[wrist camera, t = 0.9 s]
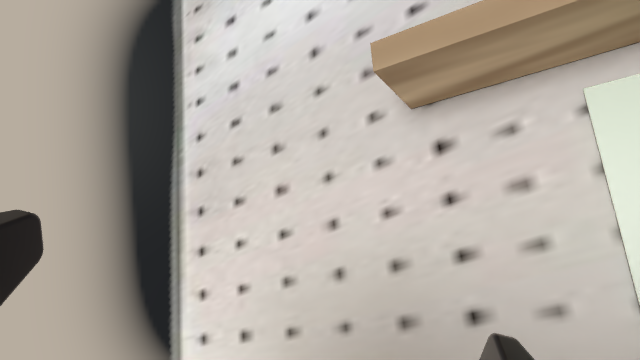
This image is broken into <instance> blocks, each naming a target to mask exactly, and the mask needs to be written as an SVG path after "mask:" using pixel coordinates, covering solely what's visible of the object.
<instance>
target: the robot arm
mask: <svg viewBox="0 0 640 360" xmlns="http://www.w3.org/2000/svg"><path fill="white" fill-rule="evenodd" d="M42 253H43V240H42V230H41V221H40V219H39V217H38V216H37V215H36V214H33V213H30V212H26V211H22V210H12V211H6V212H1V213H0V306H1V305H2V304H3V302H4V301H5V300H6V299H7V298H8V297H9V295H10V294H11V293H12V292H13V291H14V290H15V288H16V287H17V286H18V285H19V284H20V282H21V281H22V280H23V279H24V278H25V277H26V276H27V274H28V273H29V272H30V271H31V270H32V269H33V267H34V266H35V265H36V264H37V263H38V262H39V260H40V258H41V256H42ZM480 360H534V358H533V357H532V356H531V355H530V354H529V353H528V352H527V350H526V349H525V348H524V347H523V346H522V345H521V344H520V342H519V341H518V340H516V339H515V338H513V337H509V336H505V335H501V334H497V333H493V334H491V335H490V337H489V338H488V340H487V343H486V345H485V348H484V350H483V353H482V355H481V358H480Z"/></svg>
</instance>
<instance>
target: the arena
mask: <svg viewBox="0 0 640 360" xmlns="http://www.w3.org/2000/svg"><path fill="white" fill-rule="evenodd" d="M638 42H640V0H483V1H480V2H478V3H475V4H472V5H470V6H467V7H465V8H462V9H459V10H457V11H454V12H451V13H449V14H446V15H444V16H441V17H438V18H436V19H433V20H430V21H428V22H425V23H422V24H420V25H417V26H415V27H412V28H409V29H407V30H404V31H401V32H399V33H396V34H394V35H391V36H388V37H386V38H383V39H380V40H378V41H375V42H373V43H370V45H371V53H372V62H373V71H374V72H375V73H376V74H377V75H378V76H379V77H380V78H381V79H382V80H383V81H384V82H385V83H386V84H387V85H388V86H389V87H390V88H391V89H392V90H393V91H394V92H395V93H396V94H397V95H398V96H399V97H400V98H401V99H402V100H403V101H404V102H405V103H406V104H407V105H408V106H409V107H410V108H411V109H412V108H416V107H419V106H423V105H426V104H430V103H433V102H436V101H440V100H443V99H447V98H450V97H453V96H457V95H460V94H464V93H467V92H470V91H474V90H477V89H481V88H484V87H488V86H491V85H494V84H498V83H501V82H505V81H508V80H511V79H515V78H518V77H522V76H525V75H528V74H532V73H535V72H539V71H542V70H546V69H549V68H552V67H556V66H559V65H563V64H566V63H569V62H573V61H576V60H580V59H583V58H586V57H590V56H593V55H597V54H600V53H604V52H607V51H610V50H614V49H617V48H621V47H624V46H627V45H631V44H634V43H638Z"/></svg>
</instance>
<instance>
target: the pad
mask: <svg viewBox="0 0 640 360" xmlns="http://www.w3.org/2000/svg"><path fill="white" fill-rule="evenodd" d="M583 91H584V95H585V99H586V103H587V107H588V110H589V114H590V118H591V122H592V126H593V130H594V133H595V137H596V141H597V145H598V149H599V153H600V156H601V160H602V164H603V168H604V172H605V176H606V179H607V183H608V187H609V191H610V195H611V199H612V202H613V206H614V210H615V214H616V218H617V221H618V225H619V229H620V233H621V237H622V241H623V244H624V248H625V252H626V256H627V260H628V264H629V267H630V271H631V275H632V279H633V283H634V287H635V290H636V294H637V298H638V302H639V306H640V74H637V75H633V76H629V77H625V78H622V79H618V80H614V81H610V82H607V83H603V84H599V85H595V86H591V87H588V88H584V89H583Z"/></svg>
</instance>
